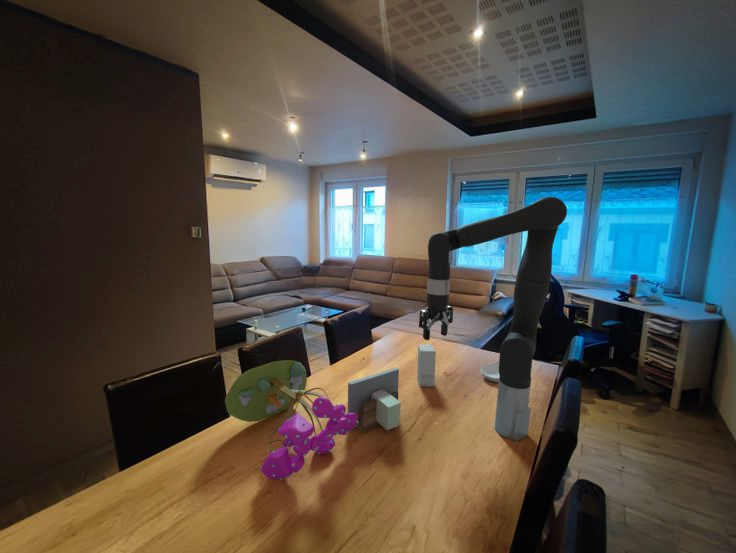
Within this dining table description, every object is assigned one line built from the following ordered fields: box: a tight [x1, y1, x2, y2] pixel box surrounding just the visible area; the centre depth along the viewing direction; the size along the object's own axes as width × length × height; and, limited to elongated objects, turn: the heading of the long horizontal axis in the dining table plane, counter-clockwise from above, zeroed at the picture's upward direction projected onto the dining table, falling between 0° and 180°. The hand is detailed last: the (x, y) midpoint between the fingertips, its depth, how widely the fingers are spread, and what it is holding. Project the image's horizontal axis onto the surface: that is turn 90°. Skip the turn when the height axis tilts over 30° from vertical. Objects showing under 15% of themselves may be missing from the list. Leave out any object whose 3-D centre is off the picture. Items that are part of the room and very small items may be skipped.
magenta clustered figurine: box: [224, 359, 359, 481], centre depth 95 cm, size 30×28×35 cm
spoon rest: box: [480, 360, 499, 383], centre depth 144 cm, size 24×12×7 cm, turn 121°
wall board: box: [347, 367, 400, 431], centre depth 109 cm, size 2×20×16 cm, turn 125°
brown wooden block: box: [357, 391, 399, 434], centre depth 107 cm, size 4×14×10 cm, turn 125°
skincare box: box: [416, 344, 437, 388], centre depth 136 cm, size 8×7×16 cm
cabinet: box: [371, 389, 402, 431], centre depth 104 cm, size 9×5×8 cm, turn 35°
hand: (435, 337), depth 111 cm, fingers open, 8 cm apart
